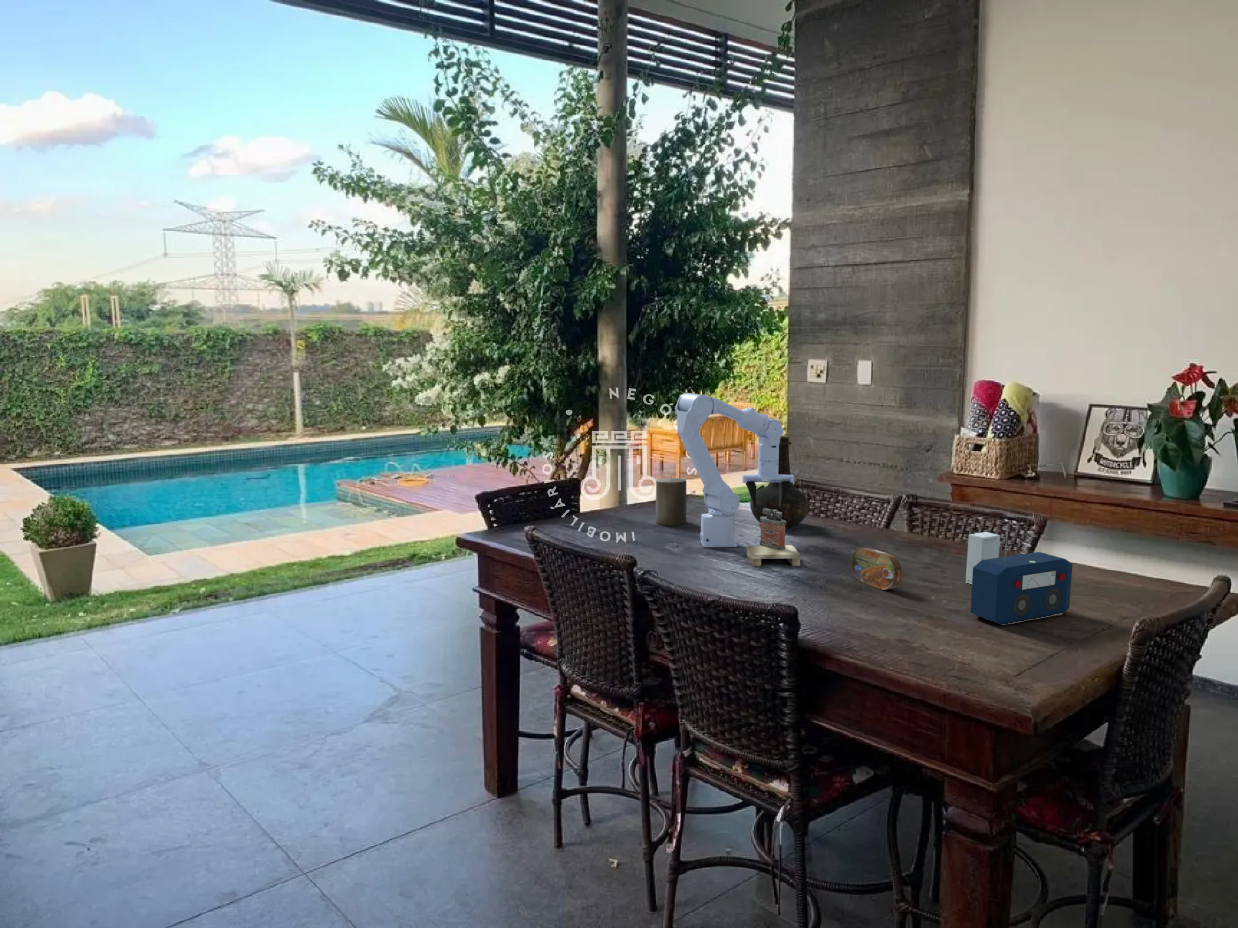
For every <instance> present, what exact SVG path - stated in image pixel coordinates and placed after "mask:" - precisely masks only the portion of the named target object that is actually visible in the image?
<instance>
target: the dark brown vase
mask: <svg viewBox="0 0 1238 928" xmlns="http://www.w3.org/2000/svg"><path fill="white" fill-rule="evenodd" d="M790 445H792V442H791V441H790V437H789V436H786V435H782V436H781V438H780V443H779V460H778V461H779V463H778V474H779V475H792V473H791V464H790V463H791V462H790V452H789V451H790V449H789V448H790V447H789V446H790ZM790 484H791V486H790V488H789V490H788V492H787V494H786V497H785V500H784V503H783V508H780V507H779V482H768V484H767V485H766V486H765V485H764V484H763V485H761V486H759V487H757V488H756V508H753V507H752V500H751V499H750V504H749V505H750V506H749V507H750V510H751V513H752V515H753V516H754V518H755V520H756V521H757V522H759V523H760V524H761V521H760V517H767V514H764V513H763V509H765V508H766V509H771V510H778V512H782V516H781V519H782V520H785V521H786V524H785V529H790V528H793V527H796V526H798V525H799V524H801V523H802V522H803V520H805V518H806V517H807V515H808V511H809V508H810V507H809V505H810V504H809V501H808V498H807V496H806V495H805V493H804V492H803V491H801V489H799V488H797V487H796V486H795V485H794V483H790Z"/></svg>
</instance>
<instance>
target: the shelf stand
mask: <svg viewBox="0 0 1238 928" xmlns="http://www.w3.org/2000/svg"><path fill="white" fill-rule="evenodd" d="M746 557H747V559H748V560H749V562H750V564H751V565H752V567H761V566H762V560H764V559H765V560H766V559H769V560H770V559H777V560H778V559H786V560H787V562H788V563H789V564H790V565H791V567H800V566H801V554H800V553H799V551H798V550H797V549H796V547H794V545H791V544H789V545H788V544H785V550H776V549H771V548H767V547H763V546H761V545H746Z"/></svg>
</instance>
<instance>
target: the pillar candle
mask: <svg viewBox="0 0 1238 928" xmlns="http://www.w3.org/2000/svg"><path fill="white" fill-rule="evenodd" d="M655 522H656V524H658V525H663V526H673V527H674V526H680V525H683V524H684V525H686V524H687V479H686V478H682V477H681V478H678V477H672V475H671V476H670V477H664V478H657V479H655Z"/></svg>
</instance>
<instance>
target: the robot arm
mask: <svg viewBox="0 0 1238 928" xmlns="http://www.w3.org/2000/svg"><path fill="white" fill-rule="evenodd" d="M674 410H675V412H676V416H677V417H676V419H677V425H676V426H677V434H678V437H679V439H680V441H681V442H682V444H683V446H684V448H685V450H686V452H687V454H688V456H689V458H690V460H691V462H692V465H693V466H694V468H695V470H696V473H697V474H698V477H699V478H700V480H701V482H702V484H703V488H702V493H703V495H704V505H705V506H706V507H707V509H708V512H707V513H702V514H701V516H700V534H699V538H700V539H699V540H700V543H701V545H702V547H703V548H737V547H738V544H737V543H736V541H735V515H736V512H737V511H738V509H739V507H740V503H741V502H740V498H739V496H738V495H737V494H736V493H735V492H734V491H733V490H732V488H731V486H730V485H729V484H727V483H726V481H724V479H723V478H722V476H721V474H720V472H719V470H718V468H717V466H716V463H715V462H714V459H713V458H712V455H711V453H710V451H709V449H708V447H707V445H706V443H705V441H704V440H703V437H702V434H701V433H700V432H701V431H700V430H701V428H702V426H703V425H704V424H705V422H706V421H707V419H708V418H709V417H710V415H715V414H718V415H721V416H723V417H726V418H728V419H731V420H733V421H735V422H736V425H737V426H738V428H741V429H743V430H745V431H748V432H750V433H752V434H755V435H756V436H757V438H758V451H757V452H758V454H757V455H758V459H757V460H758V461H757V464H758V465H757V474H748V475H746V474H743V475H742V477H741V478H742V480H741V482H742V483H743V484H745V486H746V487H747V490H748V493H749V495H750V501H751V500H752V507H753V508H756V489H757V488H758V486H757V484H756V483H769V482H779V507H780V508H783V503H784V500H785V497H786V494H787V492H788V490H789V488H790V486H791V484H790V483H793V484H794V483H795V475H793V474H791V475H779V474H778V463H779V461H778V460H779V443H780V438H781V436H783V434H784V432H785V428H783V425H782V423H781V422H780V421H779V420H778V419H774V418H769V415H768V414H765V413H763V414H761V413H760V412H758V411H756V409H755V408H753V407H745V408H742V409H739V408H737V407H736V406H733V405H731V404H729V403H727V402H725V401H723V400H721V399H719V398H716V397H712V396H708V395H707V394H696V393H695V394H694V393H690V392H686V393H683V394H681V395H680V396H679V397H678V400H677V403H676V405H675V406H674Z"/></svg>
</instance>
